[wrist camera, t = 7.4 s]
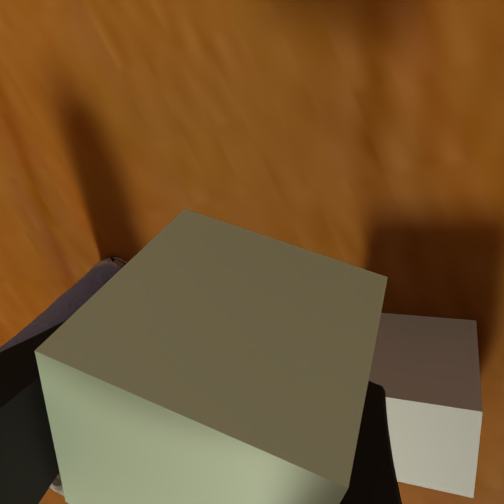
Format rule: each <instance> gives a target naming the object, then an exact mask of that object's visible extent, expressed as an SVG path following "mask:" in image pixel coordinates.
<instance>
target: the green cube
mask: <svg viewBox="0 0 504 504" xmlns="http://www.w3.org/2000/svg"><path fill="white" fill-rule="evenodd" d="M387 279H388V277H386V276H383V275H380V274H377V273H374V272H371V271H368V270H365V269H362V268H359V267H356V266H353V265H350V264H347V263H344V262H341V261H338V260H335V259H333V258H330V257H327V256H324V255H321V254H318V253H315V252H312V251H309V250H306V249H303V248H300V247H297V246H294V245H291V244H288V243H285V242H282V241H279V240H276V239H273V238H270V237H267V236H264V235H261V234H258V233H255V232H252V231H249V230H246V229H243V228H240V227H237V226H234V225H231V224H228V223H225V222H222V221H219V220H216V219H213V218H210V217H207V216H204V215H201V214H198V213H195V212H192V211H189V210H186V209H184V210H183V211H182V212H181V213H180V214H179V215H178V216H177V217H176V218H174V219H173V220H172V221H171V222H170V223H169V224H168V225H167V226H166V227H165V228H164V229H163V230H162V231H161V232H160V233H159V234H158V235H156V236H155V237H154V238H153V239H152V240H151V241H150V242H149V243H148V244H147V245H146V246H145V247H144V248H143V249H142V250H141V251H140V252H138V253H137V254H136V255H135V256H134V257H133V258H132V259H131V260H130V261H129V262H128V263H127V264H126V265H125V266H124V267H123V268H122V269H120V270H119V271H118V272H117V273H116V274H115V275H114V276H113V277H112V278H111V279H110V280H109V281H108V282H107V283H106V284H105V285H104V286H103V287H101V288H100V289H99V290H98V291H97V292H96V293H95V294H94V295H93V296H92V297H91V298H90V299H89V300H88V301H87V302H86V303H85V304H83V305H82V306H81V307H80V308H79V309H78V310H77V311H76V312H75V313H74V314H73V315H72V316H71V317H70V318H69V319H68V320H67V321H65V322H64V323H63V324H62V325H61V326H60V327H59V328H58V329H57V330H56V331H55V332H54V333H53V334H52V335H51V336H50V337H49V338H47V339H46V340H45V341H44V342H43V343H42V344H41V345H40V346H39V347H38V348H37V349H36V350H35V356H36V360H37V365H38V370H39V375H40V380H41V385H42V390H43V394H44V399H45V404H46V409H47V414H48V419H49V423H50V428H51V433H52V438H53V443H54V448H55V453H56V457H57V462H58V467H59V472H60V477H61V482H62V486H63V491H64V496H65V501H66V502H67V503H69V504H340V502H341V500H342V499H343V497H344V495H345V493H346V492H347V490H348V488H349V482H350V477H351V472H352V466H353V461H354V456H355V450H356V445H357V440H358V434H359V429H360V423H361V418H362V413H363V407H364V402H365V397H366V391H367V386H368V381H369V375H370V370H371V365H372V359H373V354H374V348H375V343H376V338H377V332H378V327H379V322H380V316H381V311H382V306H383V300H384V295H385V290H386V284H387Z"/></svg>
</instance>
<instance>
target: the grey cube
mask: <svg viewBox="0 0 504 504" xmlns="http://www.w3.org/2000/svg"><path fill="white" fill-rule="evenodd" d="M369 381H371V382H373V383H376V384H378V385H381V386H383V388H384V390H385V391H386V409H387V420H388V428H389V436H390V443H391V450H392V456H393V462H394V467H395V472H396V477H397V481H399V482H403V483H408V484H412V485H417V486H421V487H426V488H430V489H435V490H439V491H444V492H448V493H453V494H457V495H462V496H466V497H471V498H473V497H474V488H475V478H476V469H477V459H478V450H479V440H480V431H481V422H482V412H483V411H482V397H481V382H480V368H479V353H478V339H477V324H476V320H465V319H452V318H440V317H428V316H416V315H403V314H391V313H381V316H380V322H379V327H378V332H377V338H376V343H375V348H374V354H373V359H372V365H371V370H370V375H369Z"/></svg>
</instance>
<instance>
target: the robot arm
mask: <svg viewBox="0 0 504 504" xmlns="http://www.w3.org/2000/svg"><path fill="white" fill-rule="evenodd" d="M67 320H68V319H67ZM67 320H65V321H67ZM65 321H63V322H61V323H59V324H57V325H55V326H53V327H51V328H49V329H47V330H45V331H43V332H41V333H39V334H37V335H35V336H33V337H31V338H29V339H27V340H25V341H23V342H21V343H18V344H16V345H14V346H12V347H10V348H8V349H6V350H3V351H1V352H0V504H38V503H39V502H40V500H41V499H42V497H43V496H44V494H45V493H46V491H47V490H48V488H49V487H50V485H51V484H52V482H53V481H54V479H55V478H56V477H57V475H58V474H59V473H60V472H59V467H58V462H57V457H56V453H55V448H54V443H53V438H52V433H51V428H50V423H49V419H48V414H47V409H46V404H45V399H44V394H43V390H42V385H41V380H40V375H39V370H38V365H37V360H36V356H35V350H36V349H37V348H38V347H39V346H40V345H41V344H42V343H43V342H44V341H45V340H46V339H47V338H49V337H50V336H51V335H52V334H53V333H54V332H55V331H56V330H57V329H58V328H59V327H60V326H61V325H62V324H63V323H64V322H65ZM340 504H402V502H401V498H400V492H399V487H398V482H397V477H396V472H395V467H394V462H393V456H392V450H391V443H390V436H389V428H388V420H387V409H386V391H385V390H384V388H383V386H381V385H378V384H376V383H373V382H371V381H368V386H367V391H366V397H365V402H364V407H363V413H362V418H361V423H360V429H359V434H358V440H357V445H356V450H355V456H354V461H353V466H352V472H351V477H350V482H349V488H348V490H347V492H346V493H345V495H344V497H343V499H342V500H341V502H340Z"/></svg>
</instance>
